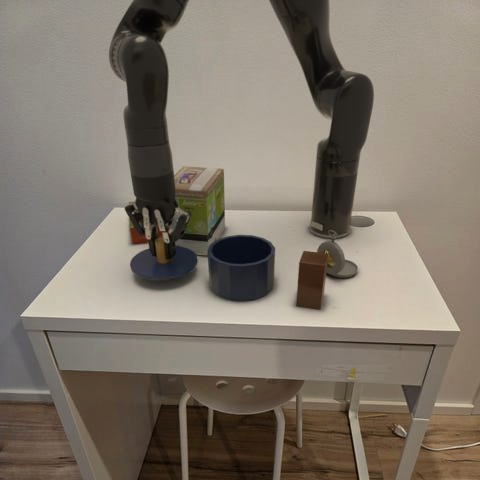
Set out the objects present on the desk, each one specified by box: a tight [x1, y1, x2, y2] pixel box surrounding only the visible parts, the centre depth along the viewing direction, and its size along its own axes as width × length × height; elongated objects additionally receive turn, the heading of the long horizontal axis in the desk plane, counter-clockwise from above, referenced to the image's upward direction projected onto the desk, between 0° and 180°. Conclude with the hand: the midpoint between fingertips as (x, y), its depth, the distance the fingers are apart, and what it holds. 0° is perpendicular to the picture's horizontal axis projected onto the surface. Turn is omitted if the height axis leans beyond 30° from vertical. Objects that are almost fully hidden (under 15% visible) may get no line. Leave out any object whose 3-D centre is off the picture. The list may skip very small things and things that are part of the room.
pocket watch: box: [316, 230, 359, 278], centre depth 85 cm, size 8×8×10 cm
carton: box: [128, 201, 163, 245], centre depth 105 cm, size 8×16×4 cm, turn 12°
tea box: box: [173, 166, 226, 257], centre depth 97 cm, size 15×10×15 cm, turn 168°
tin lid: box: [129, 237, 199, 281], centre depth 86 cm, size 13×13×6 cm
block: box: [295, 250, 329, 310], centre depth 77 cm, size 4×4×9 cm
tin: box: [207, 234, 276, 302], centre depth 83 cm, size 12×12×8 cm
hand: (163, 255), depth 87 cm, fingers closed on tin lid, 2 cm apart
